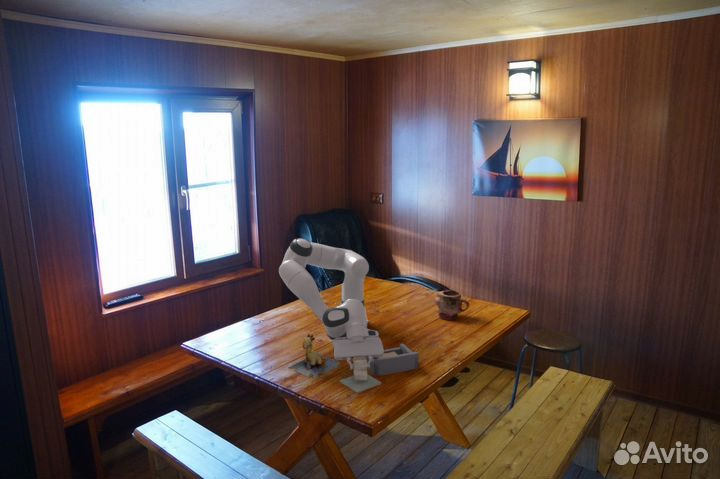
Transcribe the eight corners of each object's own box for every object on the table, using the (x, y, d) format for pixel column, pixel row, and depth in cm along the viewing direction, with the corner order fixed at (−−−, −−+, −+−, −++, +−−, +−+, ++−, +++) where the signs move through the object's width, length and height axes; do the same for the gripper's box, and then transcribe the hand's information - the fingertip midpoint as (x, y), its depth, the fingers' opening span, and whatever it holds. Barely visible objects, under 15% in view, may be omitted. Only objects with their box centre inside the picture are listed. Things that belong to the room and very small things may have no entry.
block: (353, 375, 215) (353, 357, 213) (365, 374, 215) (365, 356, 213) (354, 380, 210) (354, 361, 209) (367, 379, 211) (366, 361, 209)
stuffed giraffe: (287, 368, 228) (287, 333, 225) (318, 355, 241) (318, 322, 238) (313, 380, 218) (313, 344, 214) (343, 366, 231) (344, 332, 227)
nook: (362, 361, 233) (362, 346, 232) (403, 353, 239) (403, 339, 238) (375, 376, 218) (375, 360, 217) (418, 368, 225) (418, 353, 223)
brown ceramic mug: (473, 317, 283) (473, 292, 280) (465, 324, 272) (466, 299, 269) (437, 311, 292) (438, 287, 289) (429, 318, 282) (429, 293, 279)
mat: (339, 381, 215) (339, 380, 215) (363, 373, 222) (363, 371, 221) (357, 393, 205) (357, 391, 205) (381, 383, 212) (381, 382, 212)
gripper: (332, 334, 215) (334, 367, 208) (381, 331, 217) (386, 364, 210) (331, 340, 220) (334, 372, 213) (380, 337, 223) (384, 369, 215)
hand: (360, 368), depth 211 cm, fingers closed on block, 5 cm apart
